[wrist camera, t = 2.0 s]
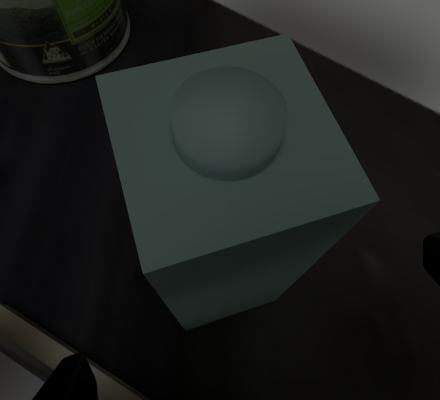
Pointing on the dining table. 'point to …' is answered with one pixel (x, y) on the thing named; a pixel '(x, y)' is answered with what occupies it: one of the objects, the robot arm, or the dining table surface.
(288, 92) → the pillar
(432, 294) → the dining table surface
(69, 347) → the board
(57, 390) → the robot arm
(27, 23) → the coffee can
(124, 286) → the dining table surface
